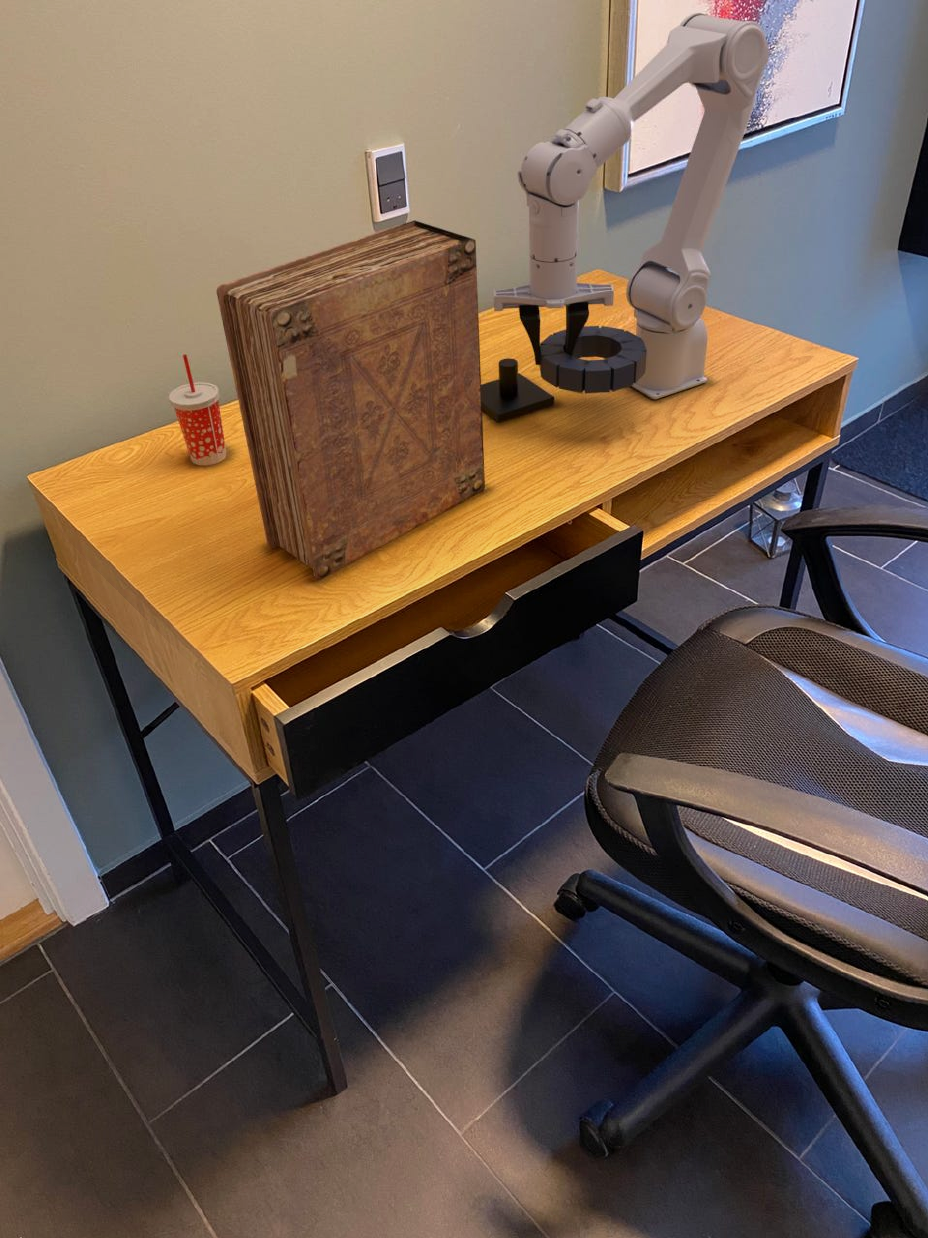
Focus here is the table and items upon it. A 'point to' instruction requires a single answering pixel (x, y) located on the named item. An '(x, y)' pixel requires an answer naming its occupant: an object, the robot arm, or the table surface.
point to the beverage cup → (200, 420)
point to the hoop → (594, 375)
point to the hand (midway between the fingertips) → (552, 360)
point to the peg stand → (512, 394)
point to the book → (359, 389)
